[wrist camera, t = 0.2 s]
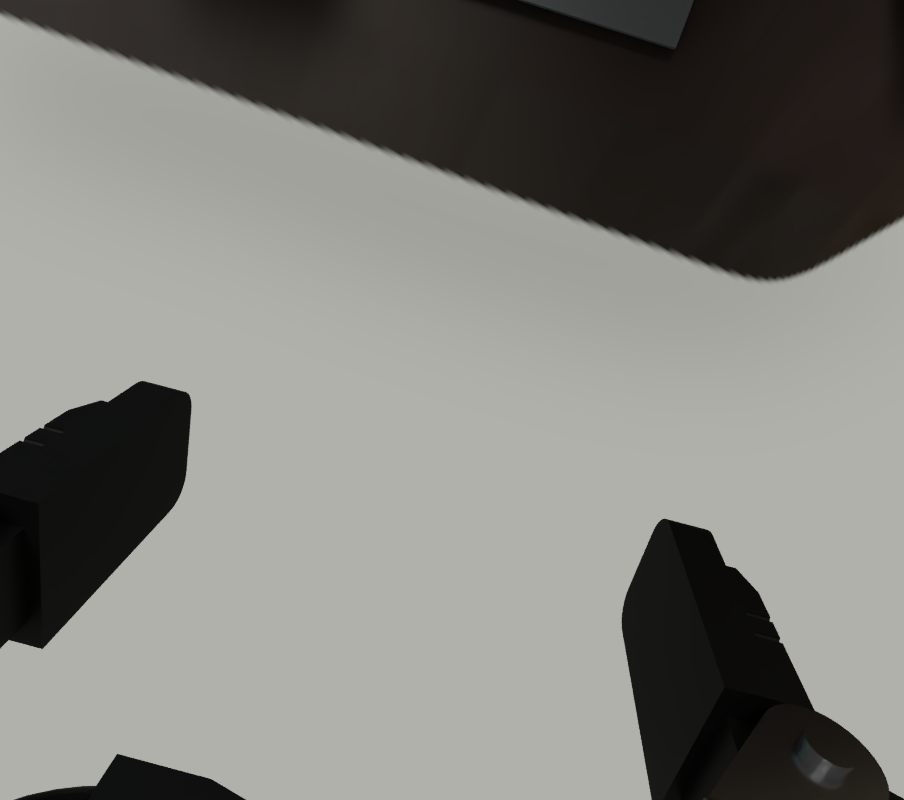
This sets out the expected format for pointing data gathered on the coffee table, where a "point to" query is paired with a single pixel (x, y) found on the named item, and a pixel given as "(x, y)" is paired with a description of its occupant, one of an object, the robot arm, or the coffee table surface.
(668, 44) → the rubber mat
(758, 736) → the robot arm
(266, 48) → the coffee table surface
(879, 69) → the coffee table surface
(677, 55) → the coffee table surface
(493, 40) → the coffee table surface
